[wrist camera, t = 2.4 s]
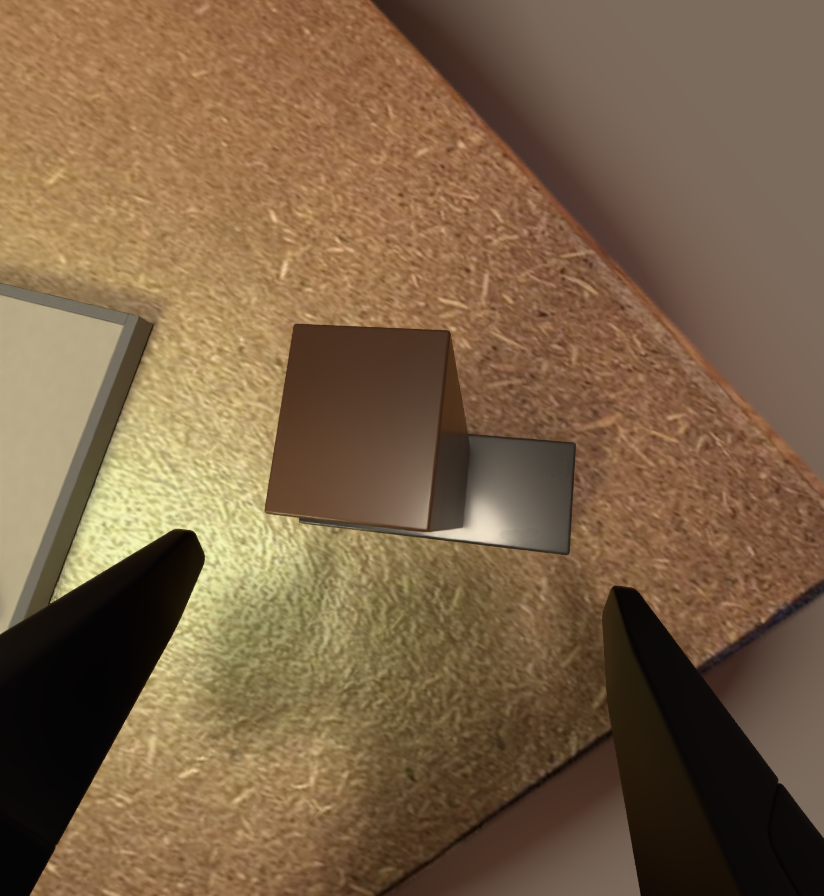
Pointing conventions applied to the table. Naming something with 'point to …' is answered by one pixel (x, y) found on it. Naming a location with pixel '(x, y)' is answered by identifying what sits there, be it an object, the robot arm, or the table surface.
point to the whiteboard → (53, 429)
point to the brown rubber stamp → (407, 447)
